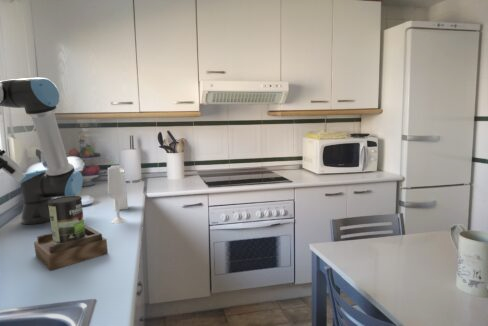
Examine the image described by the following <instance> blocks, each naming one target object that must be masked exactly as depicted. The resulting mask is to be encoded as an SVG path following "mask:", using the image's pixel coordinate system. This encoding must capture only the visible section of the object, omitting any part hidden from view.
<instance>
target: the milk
mask: <svg viewBox="0 0 488 326" xmlns="http://www.w3.org/2000/svg"><path fill="white" fill-rule="evenodd" d="M110 167H119V169H120V174H121V179H122V184H123V189H124V193H123V195H122V196H121V198H120V199H118V203H119V211H121V210H128V209H129V204H128V195H127V193H128V192H127V183H126V175H125V174H126V173H125V169H124V165H123V164H114V165H110ZM112 200H113V201H112V202H113V208H114V210H115V211H116V201H115V200H114V199H113V198H112Z"/></svg>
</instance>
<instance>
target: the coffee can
mask: <svg viewBox="0 0 488 326" xmlns="http://www.w3.org/2000/svg"><path fill="white" fill-rule="evenodd" d="M48 206H49V214H50V221H49V222H50V227H51V233H52V236H53V243H54V244H59V243H63V242H67V241H71V240H75V239H79V238H82V237H86V235H85V227H84V225H85V220H84V211H83V203H82V196H80V195H79V196H78V195H76V196H66V197H54V198H52V200H49V201H48Z"/></svg>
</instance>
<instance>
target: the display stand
mask: <svg viewBox="0 0 488 326" xmlns="http://www.w3.org/2000/svg"><path fill="white" fill-rule="evenodd" d="M84 227H85V235H86V237H82V238H79V239H75V240H71V241H67V242H63V243H59V244H54V243H53V236H52V232H48V233H44V234H40V235H37V236H36V237H37V240H36V241H33V245H34V251H35V252H34V253H35V256H36V257H37V259H39V260H40V261H41V262H42V264H44V265H45V267H46V268H47V269H48V270H50V271H54V270H57V269H60V268H64V267H68V266H71V265H75V264H78V263H81V262H84V261H87V260H91V259H95V258H97V256H98V257H100V256H104V254H105V255H107V253H108V254H109V249H108V241H107V240H108V239H107V238H105V237H103V234H102V233H101V232H99V231H98V230H95V229H94V228H91V227H90V226H88V225H87V224H84ZM94 257H95V258H94Z"/></svg>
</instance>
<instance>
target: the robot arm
mask: <svg viewBox="0 0 488 326" xmlns="http://www.w3.org/2000/svg"><path fill="white" fill-rule="evenodd" d="M59 102H60V92H59V90H58V87H57V86H56V84H55V83H54V82H53V81H52V80H50V79H49V78H46V77H29V78H17V79H16V78H13V79H6V80H5V79H4V80H0V107H4V108H5V107H6V108H13V109H14V108H16V109H24V112H25V114H26V115H28V116H29V117H31V119H32V122H33V125H34V128H35V131H36V135H37V137H38V140H39V144H40V147H41V150H42V154H43V156H44V160H45V163H46V166H47V168H41V169H38V170H32V171H28V172H22V171H21V170H20V169H21V168H22V166H21V165H20V164H18V162H16V161H15V160H14V159H12V158H11V157H10V156H9V155H7V154H6V150H4V149H3V150H2V149H0V170H3V171H4V172H5V173H6V174H8V175H9V176H11V177H12V178H13V179H14V180H15V181H17V182H19V183H20V187H21V188H20V189H21V195H22V201H23V208H22V213H21V217H20V218H21V224H24V225H36V224H43V223H47V222H50V214H49V206H48V201H49V200H52V199H53V198H59V197H66V196H78V195H79V194H80V192H81V190H82V188H83V181H84V179H83V174H82V172H81V171H79V170H75V167H74V165H73V164H72V163H69V160H68V159H69V158H68V156H67V152H66V149H65V146H64V142H63V139H62V135H61V133H60V128H59V126H58V121H57V118H56V114H55V112H56V110H57V105H58V104H59Z"/></svg>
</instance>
